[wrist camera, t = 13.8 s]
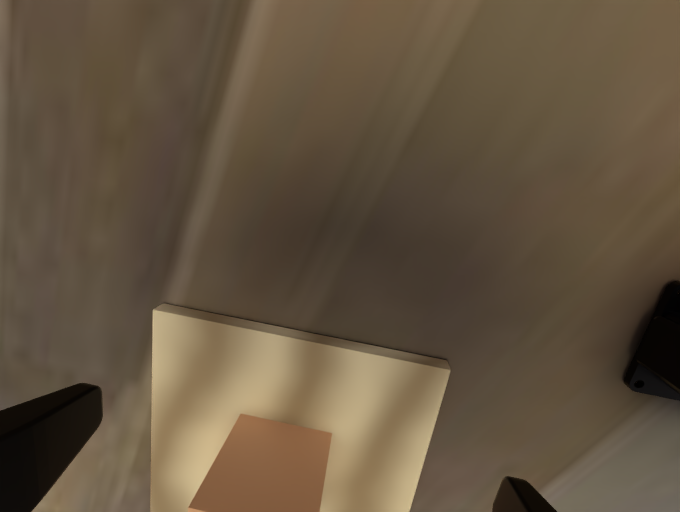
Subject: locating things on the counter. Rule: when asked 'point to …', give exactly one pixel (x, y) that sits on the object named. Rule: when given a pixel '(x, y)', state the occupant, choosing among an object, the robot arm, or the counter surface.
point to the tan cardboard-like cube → (266, 469)
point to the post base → (289, 405)
